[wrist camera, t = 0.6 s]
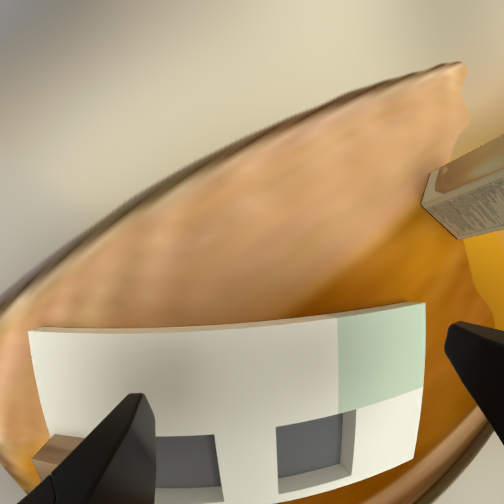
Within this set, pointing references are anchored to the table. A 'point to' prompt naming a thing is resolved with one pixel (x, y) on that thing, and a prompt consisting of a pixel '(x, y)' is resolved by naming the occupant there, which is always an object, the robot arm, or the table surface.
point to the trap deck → (249, 398)
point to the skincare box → (469, 192)
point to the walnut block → (54, 453)
